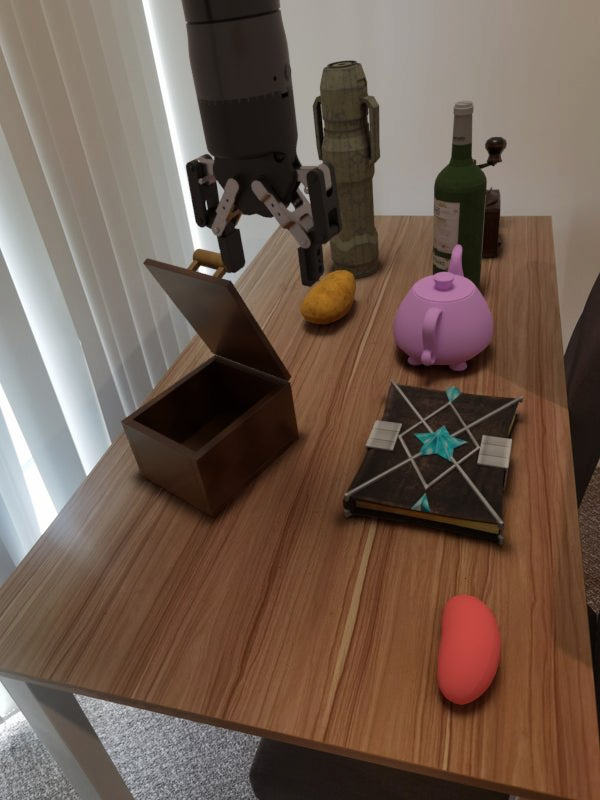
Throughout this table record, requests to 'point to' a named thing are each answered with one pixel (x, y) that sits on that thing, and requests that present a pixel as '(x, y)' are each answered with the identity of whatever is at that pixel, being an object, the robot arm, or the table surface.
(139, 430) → the chest
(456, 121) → the wine bottle
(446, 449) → the book
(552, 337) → the table surface
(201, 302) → the lid
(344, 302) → the potato
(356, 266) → the tall handled vase
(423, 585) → the table surface
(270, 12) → the robot arm
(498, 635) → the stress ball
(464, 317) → the teapot
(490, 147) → the coffee grinder
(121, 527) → the table surface
